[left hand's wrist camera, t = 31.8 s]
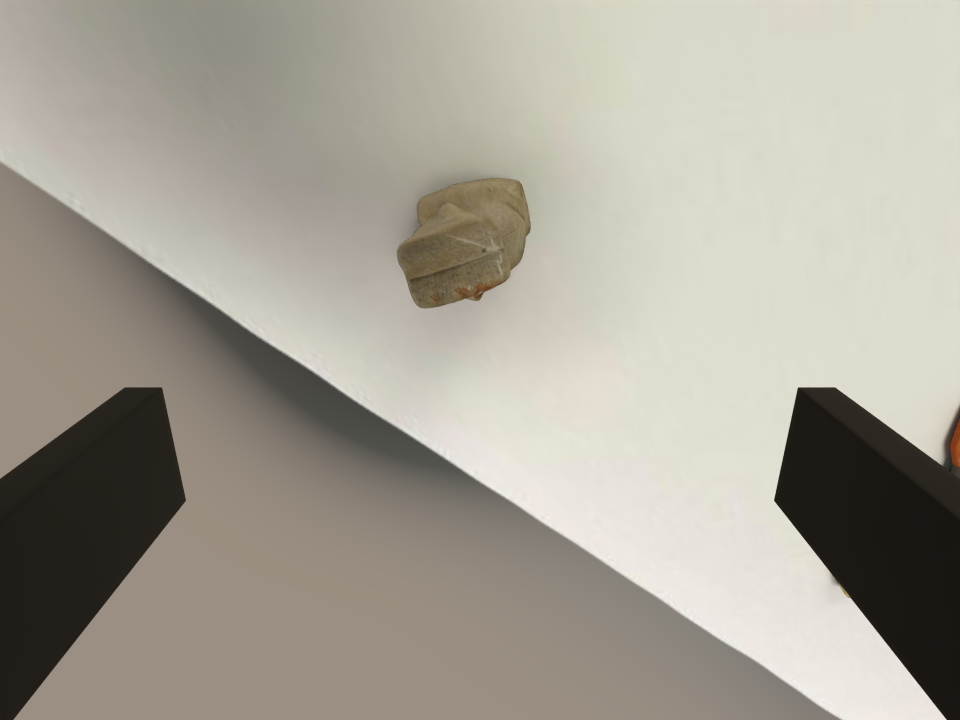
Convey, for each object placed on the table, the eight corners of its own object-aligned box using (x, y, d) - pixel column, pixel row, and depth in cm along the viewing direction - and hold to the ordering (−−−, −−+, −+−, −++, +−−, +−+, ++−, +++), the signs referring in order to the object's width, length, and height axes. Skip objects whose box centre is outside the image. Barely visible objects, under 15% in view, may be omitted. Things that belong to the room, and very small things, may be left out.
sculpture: (411, 184, 40) (375, 214, 26) (516, 158, 40) (535, 175, 26) (433, 267, 42) (410, 335, 28) (532, 244, 42) (559, 302, 28)
